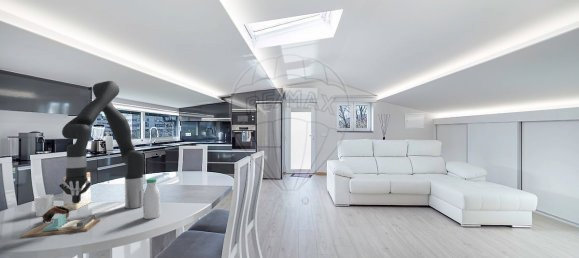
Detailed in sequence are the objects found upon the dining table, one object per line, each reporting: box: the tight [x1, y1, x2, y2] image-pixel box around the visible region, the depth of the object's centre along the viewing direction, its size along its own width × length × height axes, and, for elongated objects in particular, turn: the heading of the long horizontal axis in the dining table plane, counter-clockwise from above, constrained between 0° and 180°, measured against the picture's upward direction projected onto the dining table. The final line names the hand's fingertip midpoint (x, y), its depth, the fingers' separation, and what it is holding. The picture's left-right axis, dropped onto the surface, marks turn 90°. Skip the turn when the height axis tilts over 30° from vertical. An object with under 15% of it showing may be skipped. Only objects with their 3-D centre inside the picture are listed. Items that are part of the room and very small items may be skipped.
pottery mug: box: [42, 205, 71, 224], centre depth 128 cm, size 12×10×8 cm
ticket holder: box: [20, 213, 101, 239], centre depth 117 cm, size 24×13×4 cm, turn 106°
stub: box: [43, 214, 69, 231], centre depth 116 cm, size 5×9×5 cm, turn 16°
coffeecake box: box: [62, 171, 92, 211], centre depth 153 cm, size 15×7×20 cm, turn 12°
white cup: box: [33, 193, 55, 217], centre depth 138 cm, size 8×8×10 cm
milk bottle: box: [142, 177, 161, 220], centre depth 132 cm, size 8×8×20 cm
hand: (76, 202), depth 118 cm, fingers closed
